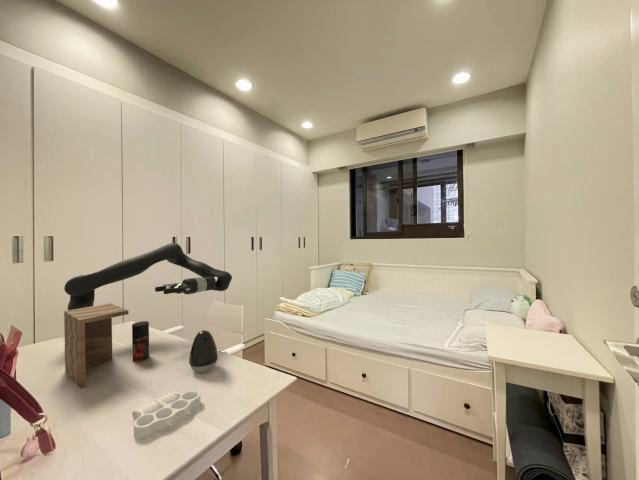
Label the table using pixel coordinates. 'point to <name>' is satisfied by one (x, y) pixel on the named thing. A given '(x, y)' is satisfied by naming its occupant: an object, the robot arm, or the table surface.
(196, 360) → the black rounded cone
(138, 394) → the table surface
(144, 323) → the deodorant
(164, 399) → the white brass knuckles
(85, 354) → the wooden stand
